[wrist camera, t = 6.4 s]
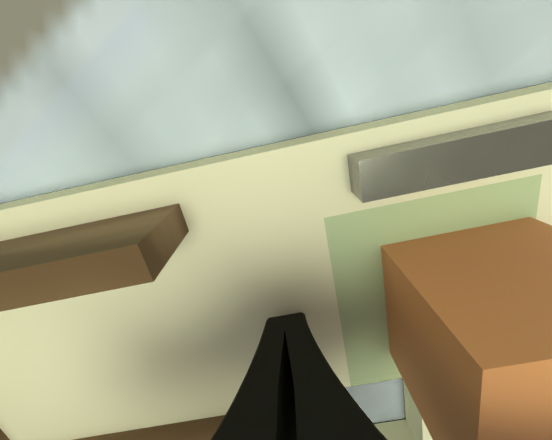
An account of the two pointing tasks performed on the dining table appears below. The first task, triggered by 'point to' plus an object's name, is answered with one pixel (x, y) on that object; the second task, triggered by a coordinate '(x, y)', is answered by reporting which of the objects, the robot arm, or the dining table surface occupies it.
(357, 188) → the short rod
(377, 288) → the deck
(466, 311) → the cube
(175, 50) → the dining table surface
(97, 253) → the cubby
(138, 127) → the dining table surface
